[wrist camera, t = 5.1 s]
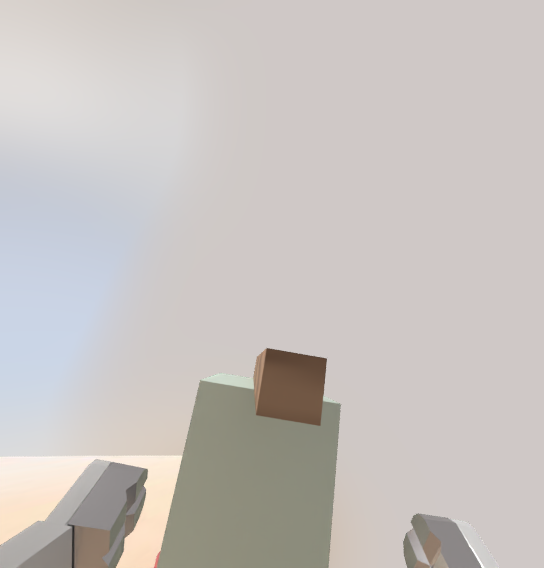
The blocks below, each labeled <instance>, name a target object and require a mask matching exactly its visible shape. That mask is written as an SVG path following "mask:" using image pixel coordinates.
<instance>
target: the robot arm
mask: <svg viewBox="0 0 544 568" xmlns="http://www.w3.org/2000/svg"><path fill="white" fill-rule="evenodd" d="M147 473H148V469H145V468H140V467H135V466H130V465H125V464H120V463H115V462H109V461H104V460H98V459H96V460H94V461H93V462H92V463H91V464H89V465H88V467H87V468H86V469H85V471H84V472H83V473H82V474H81V476H80V477H79V478H78V479H77V481H76V482H75V483H74V484H73V486H72V487H71V488H70V490H69V491H68V492H67V493H66V495H65V496H64V497H63V498H62V500H61V501H60V502H59V503H58V505H57V506H56V507H55V509H54V510H53V511H52V512H51V514H50V515H49V516H48V517H47V519H46V520H45V521H37V522H36V523H34V524H33V525H31V526H30V527H28V528H26V529H25V530H23V531H22V532H20V533H19V534H17V535H16V536H14V537H13V538H11V539H9V540H8V541H6V542H5V543H3V544H2V545H0V568H116V566H117V564H118V562H119V560H120V557H121V555H122V553H123V550H124V538H126V537H127V536H128V535H129V534H130V533H131V532H133V530H134V528H135V526H136V523H137V521H138V519H139V516H140V514H141V511H142V508H143V505H144V501H145V496H146V489H145V487H144V486H143V485H144V483H145V481H146V479H147ZM411 523H412V525H413V529H412V530H410V531H409V532H407V533H406V536H405V539H404V542H403V544H404V557H405V561H406V564H407V568H500V567H499V566H498V564H497V562H496V561H495V559H494V558H493V556H492V555H491V553H490V552H489V550H488V549H487V547H486V546H485V544H484V543H483V541H482V539H481V538H480V536H479V535H478V533H477V532H476V531H475V529H474V528H473V526H472V525H470V524H469V523H468V522H466V521H460V520H454V519H448V518H444V517H438V516H430V515H424V514H416V515H414V516H413V518H412V521H411Z"/></svg>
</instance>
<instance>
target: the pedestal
mask: <svg viewBox="0 0 544 568" xmlns="http://www.w3.org/2000/svg"><path fill="white" fill-rule="evenodd" d="M340 407H341V405H340V403H337V402H335V401H333V400H331V399H329V398H327V397H325V396H323V405H322V415H321V426H317V425H311V424H305V423H299V422H293V421H287V420H281V419H275V418H269V417H263V416H257V415H256V411H255V396H254V381H253V378H248V377H242V376H236V375H230V374H224V373H219V374H216V375H213V376H211V377H208V378H205V379H202V380H200V383H199V388H198V392H197V397H196V401H195V406H194V409H193V414H192V418H191V422H190V427H189V431H188V435H187V439H186V444H185V448H184V452H183V457H182V461H181V465H180V470H179V474H178V478H177V482H176V487H175V491H174V495H173V500H172V504H171V508H170V513H169V517H168V521H167V525H166V530H165V534H164V538H163V543H162V547H161V551H160V556H159V560H158V564H157V568H328V564H329V553H330V539H331V525H332V513H333V499H334V487H335V474H336V460H337V447H338V433H339V420H340Z"/></svg>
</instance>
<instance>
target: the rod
mask: <svg viewBox="0 0 544 568" xmlns="http://www.w3.org/2000/svg"><path fill="white" fill-rule="evenodd" d="M326 362H327V359H326V358H320V357H315V356H308V355H303V354H297V353H291V352H286V351H280V350H274V349H268V348H267V349H265V350H264V351H263V352H262V353H261V354H260V355H259V356H258V357H257V360H256V365H255V371H254V378H253V381H254V396H255V411H256V415H257V416H263V417H269V418H275V419H281V420H287V421H293V422H299V423H305V424H311V425H317V426H321V415H322V405H323V394H324V384H325V373H326Z"/></svg>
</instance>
